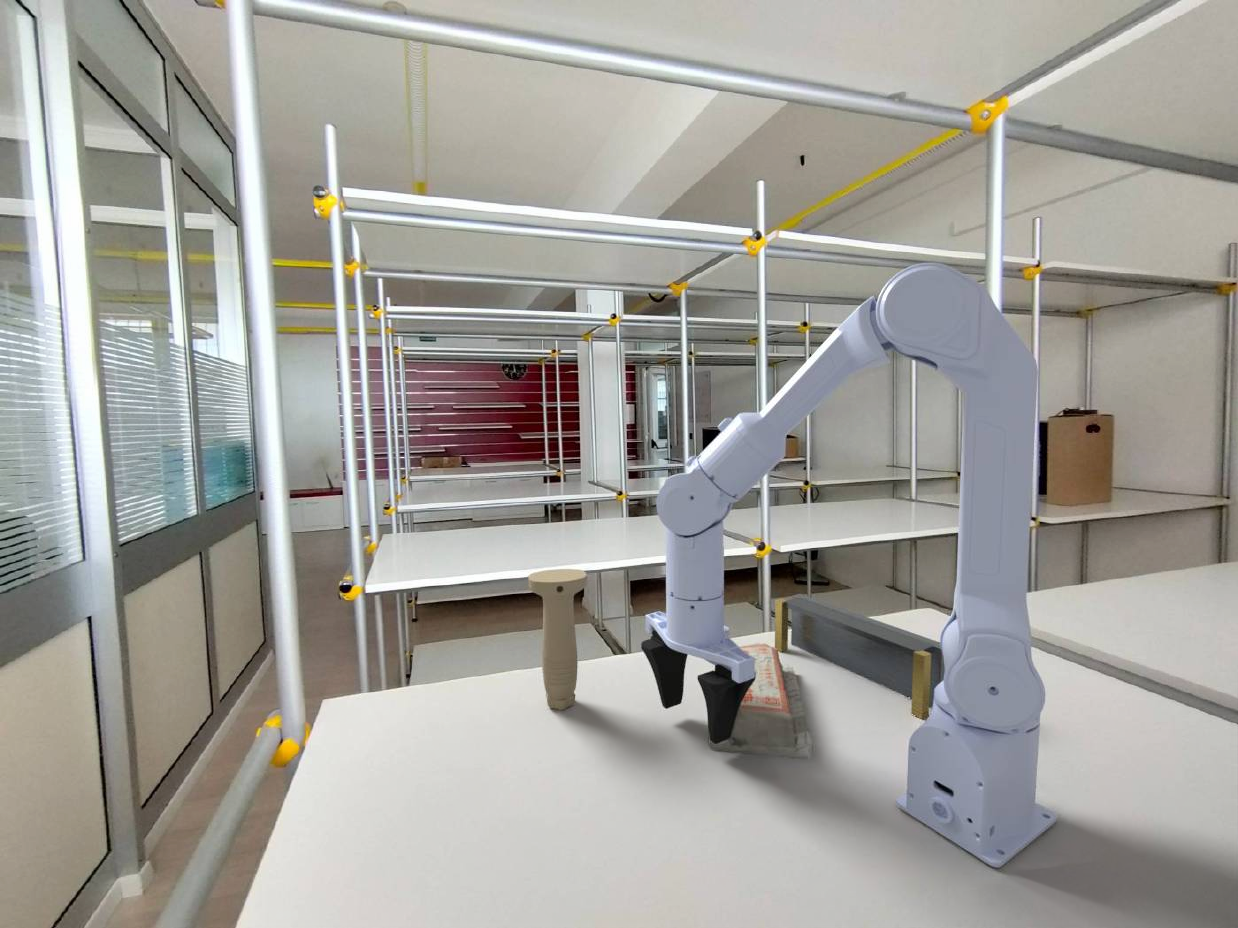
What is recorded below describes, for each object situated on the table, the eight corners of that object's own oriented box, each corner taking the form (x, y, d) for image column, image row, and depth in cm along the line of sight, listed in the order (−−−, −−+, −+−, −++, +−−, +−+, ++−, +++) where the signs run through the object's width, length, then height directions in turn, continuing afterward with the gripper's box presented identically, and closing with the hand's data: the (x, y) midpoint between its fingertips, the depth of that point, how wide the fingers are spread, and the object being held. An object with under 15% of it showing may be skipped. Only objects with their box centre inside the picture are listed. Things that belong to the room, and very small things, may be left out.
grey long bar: (922, 719, 61) (924, 656, 60) (774, 649, 79) (775, 599, 78) (947, 706, 63) (950, 645, 62) (799, 641, 81) (799, 593, 80)
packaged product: (815, 716, 54) (708, 707, 55) (814, 765, 54) (708, 754, 56) (793, 639, 71) (713, 634, 73) (793, 676, 72) (712, 670, 74)
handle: (531, 696, 67) (527, 571, 65) (585, 690, 68) (583, 567, 66) (533, 718, 62) (529, 584, 60) (592, 711, 63) (589, 579, 62)
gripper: (778, 604, 53) (776, 742, 54) (680, 568, 65) (681, 682, 66) (722, 620, 49) (721, 768, 50) (629, 578, 61) (630, 699, 63)
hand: (695, 721), depth 58 cm, fingers open, 7 cm apart
